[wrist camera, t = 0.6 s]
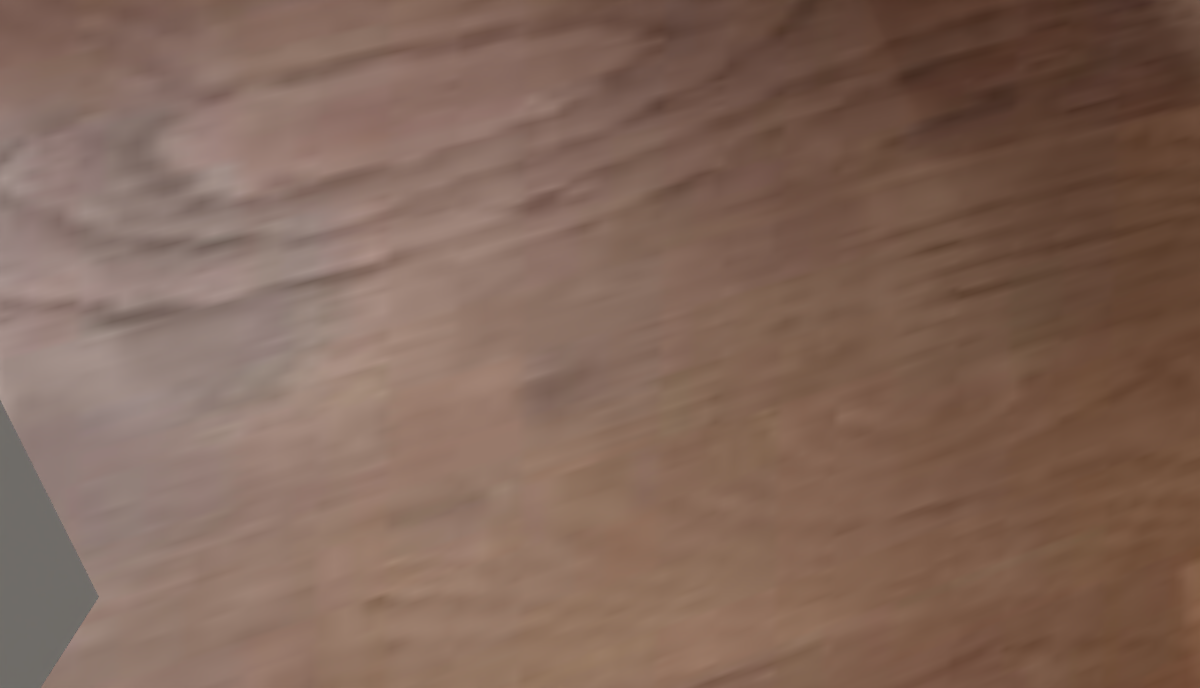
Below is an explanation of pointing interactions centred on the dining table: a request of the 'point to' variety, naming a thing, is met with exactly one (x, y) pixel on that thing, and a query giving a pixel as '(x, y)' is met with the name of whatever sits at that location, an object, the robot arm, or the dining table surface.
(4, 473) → the robot arm
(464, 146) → the dining table surface
